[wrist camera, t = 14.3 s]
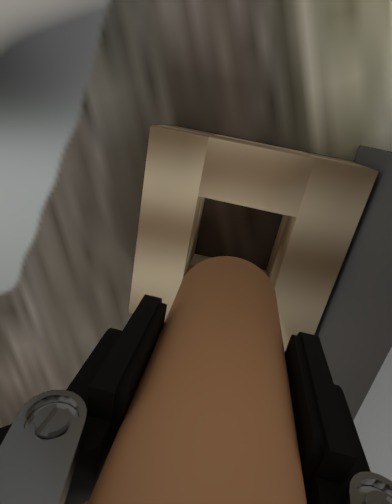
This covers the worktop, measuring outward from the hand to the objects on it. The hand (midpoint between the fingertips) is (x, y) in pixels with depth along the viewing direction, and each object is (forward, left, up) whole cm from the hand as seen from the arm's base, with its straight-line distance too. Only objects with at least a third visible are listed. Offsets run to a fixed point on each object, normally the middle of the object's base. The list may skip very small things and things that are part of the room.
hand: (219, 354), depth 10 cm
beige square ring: (0, 0, -15) cm, 15 cm away
